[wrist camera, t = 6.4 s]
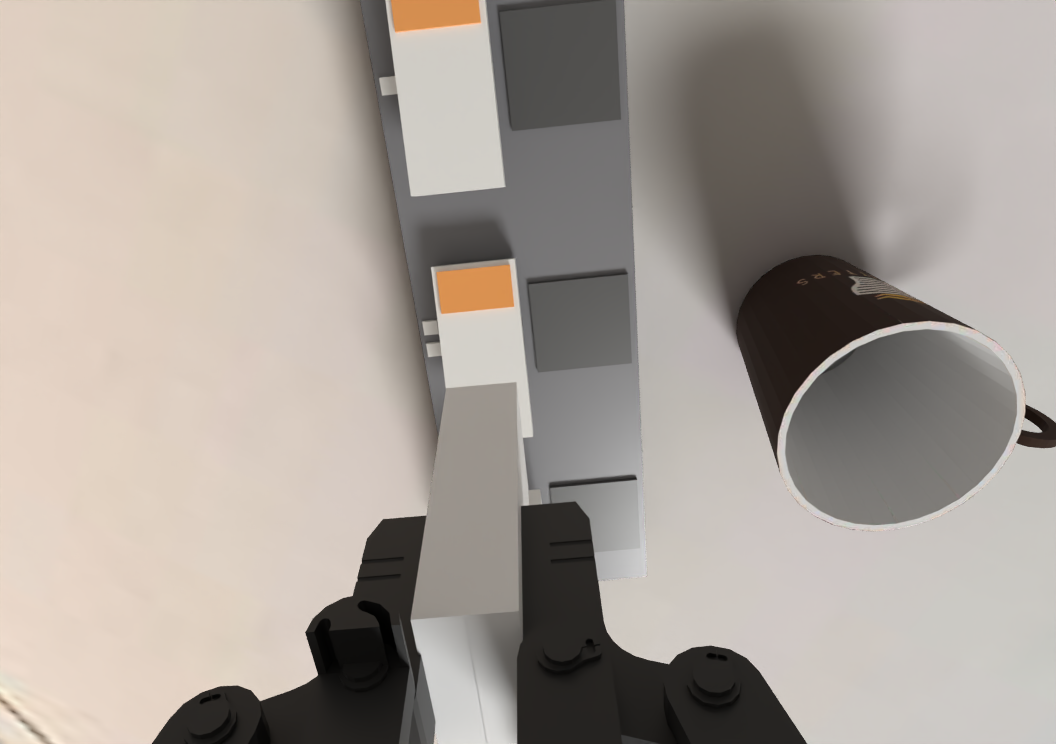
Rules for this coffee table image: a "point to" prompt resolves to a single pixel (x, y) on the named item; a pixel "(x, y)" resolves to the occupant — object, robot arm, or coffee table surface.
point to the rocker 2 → (482, 328)
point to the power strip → (549, 250)
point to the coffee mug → (877, 396)
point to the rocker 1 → (446, 95)
